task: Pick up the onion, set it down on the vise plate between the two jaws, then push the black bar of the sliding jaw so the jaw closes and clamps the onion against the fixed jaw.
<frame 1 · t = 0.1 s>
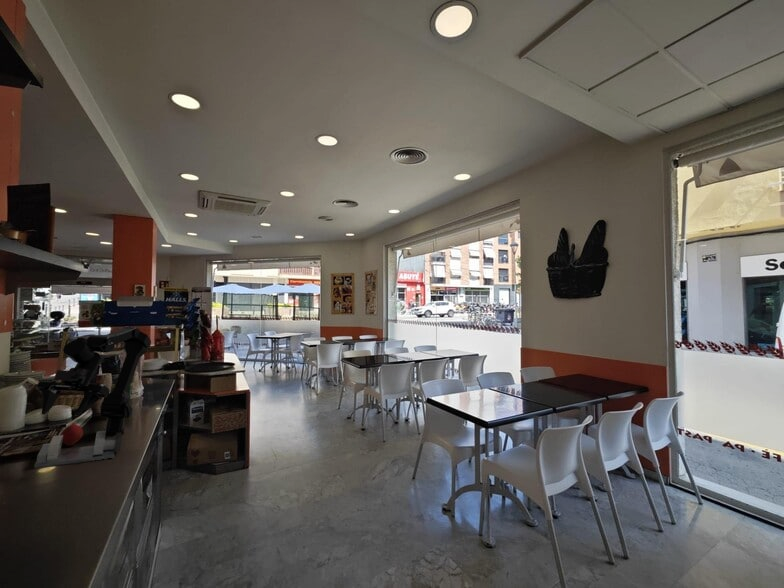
hand: (59, 415, 110), 15 cm above the bar counter, tool tilted 30°, fingers open, 9 cm apart
vise base: (78, 456, 115), on the bar counter
onion: (69, 446, 123), on the bar counter
sliding jaw: (108, 441, 120), point 4 cm above the bar counter, slide at 0.0 cm
coffee jar: (117, 416, 159), on the bar counter
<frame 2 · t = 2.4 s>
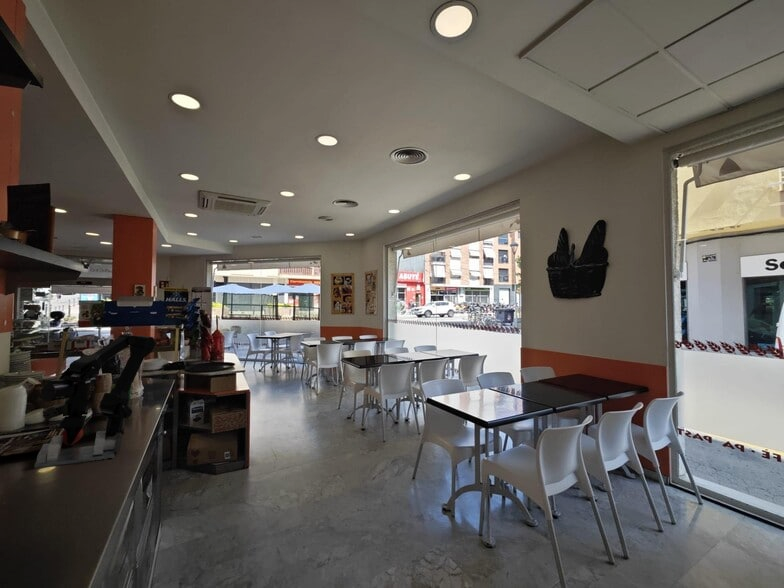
hand: (70, 441, 123), 2 cm above the bar counter, tool pointing down, fingers closed on onion, 6 cm apart
onion: (69, 446, 123), on the bar counter, touching gripper
everything else where it was.
when the fingers open (4 cm above the bar counter, at t = 6.4 s): onion drops 1 cm, resting on vise base.
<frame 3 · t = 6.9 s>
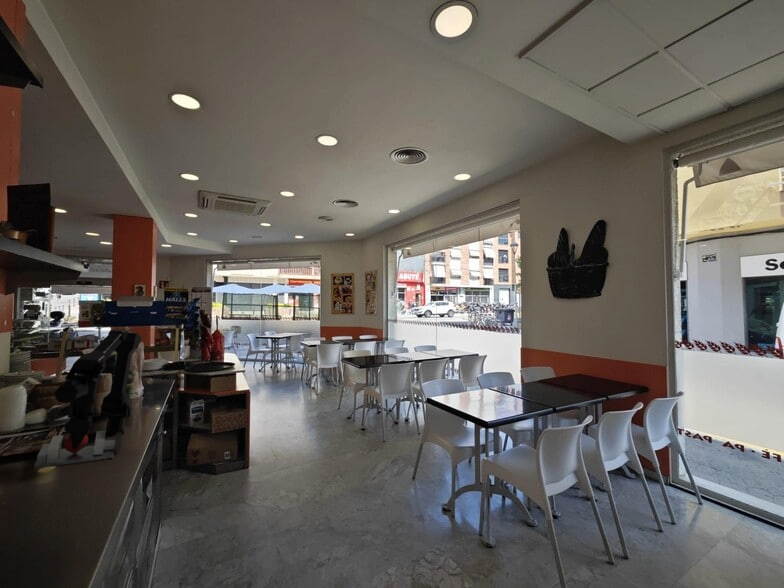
hand: (76, 444, 115), 4 cm above the bar counter, tool pointing down, fingers open, 9 cm apart
onion: (74, 453, 115), point 1 cm above the bar counter, touching vise base
everything else where it was.
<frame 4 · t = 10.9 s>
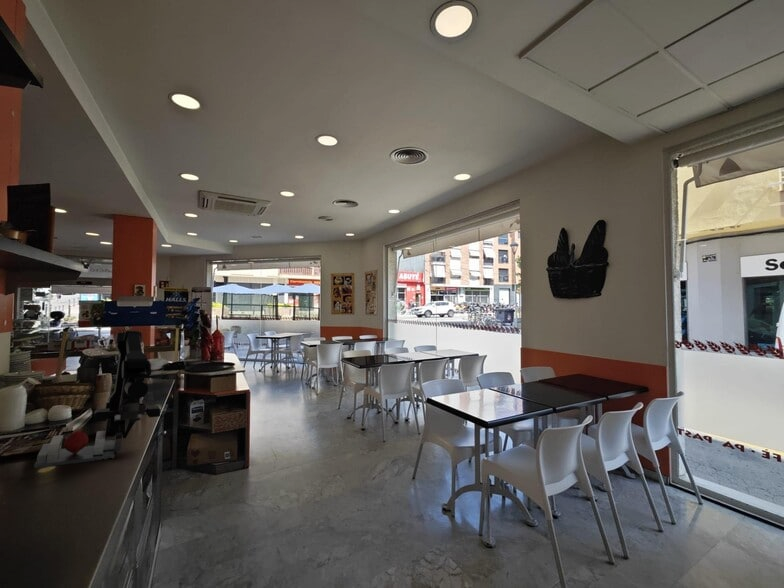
hand: (124, 438, 123), 4 cm above the bar counter, tool pointing down, fingers closed
sliding jaw: (108, 441, 120), point 4 cm above the bar counter, slide at 0.0 cm, touching gripper
everything else where it was.
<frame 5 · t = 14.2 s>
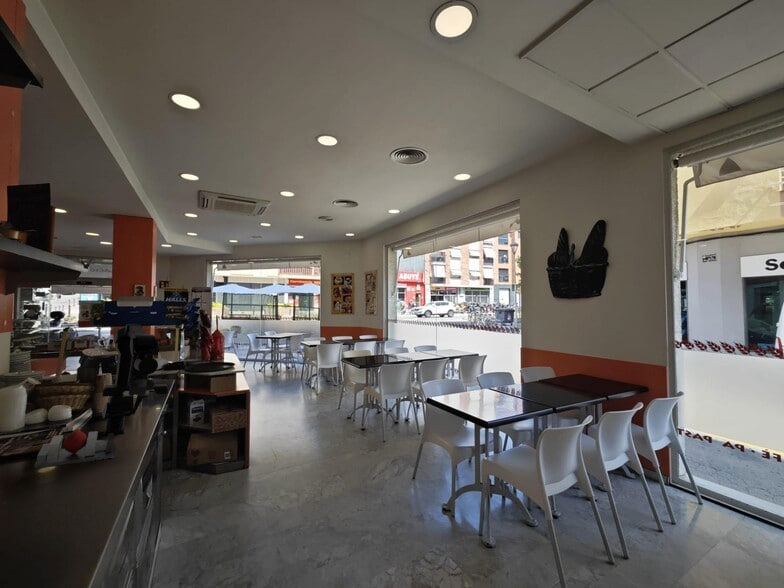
hand: (132, 414, 124), 12 cm above the bar counter, tool pointing down, fingers closed
onion: (73, 454, 115), point 1 cm above the bar counter, touching sliding jaw, vise base
sliding jaw: (100, 442, 119), point 4 cm above the bar counter, slide at 2.1 cm, touching onion
everything else where it was.
at the end: onion inside the target area on the vise base (0.6 cm from its centre), point 0.8 cm above the vise base's base; sliding jaw slide at 2.1 cm; the gripper is holding nothing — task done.
